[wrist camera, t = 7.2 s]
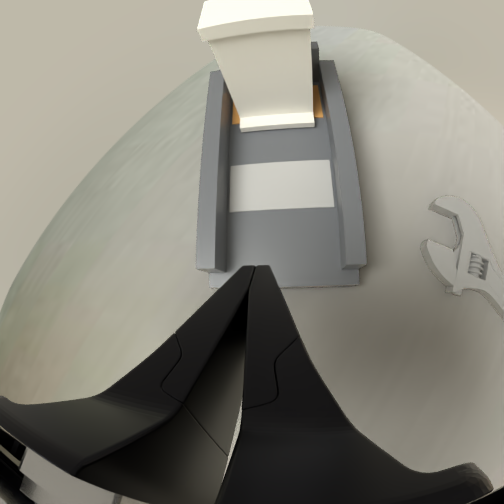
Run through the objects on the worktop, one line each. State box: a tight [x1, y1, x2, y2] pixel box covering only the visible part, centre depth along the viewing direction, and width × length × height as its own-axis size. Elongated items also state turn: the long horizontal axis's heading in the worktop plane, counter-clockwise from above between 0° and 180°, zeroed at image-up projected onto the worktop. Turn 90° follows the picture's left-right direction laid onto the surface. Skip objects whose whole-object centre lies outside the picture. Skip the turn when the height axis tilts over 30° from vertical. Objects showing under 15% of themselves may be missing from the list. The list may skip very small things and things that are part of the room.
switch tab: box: [197, 0, 315, 132], centre depth 16 cm, size 5×6×10 cm
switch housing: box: [196, 42, 367, 289], centre depth 19 cm, size 18×10×6 cm, turn 0°
